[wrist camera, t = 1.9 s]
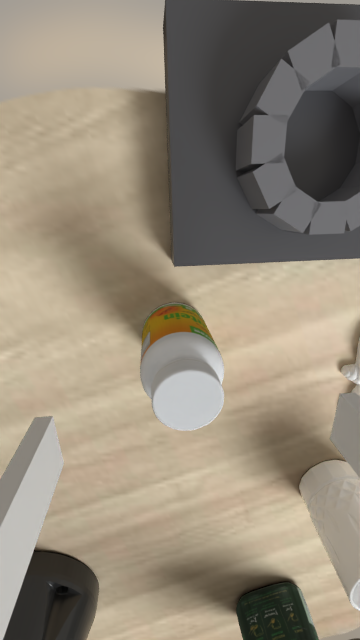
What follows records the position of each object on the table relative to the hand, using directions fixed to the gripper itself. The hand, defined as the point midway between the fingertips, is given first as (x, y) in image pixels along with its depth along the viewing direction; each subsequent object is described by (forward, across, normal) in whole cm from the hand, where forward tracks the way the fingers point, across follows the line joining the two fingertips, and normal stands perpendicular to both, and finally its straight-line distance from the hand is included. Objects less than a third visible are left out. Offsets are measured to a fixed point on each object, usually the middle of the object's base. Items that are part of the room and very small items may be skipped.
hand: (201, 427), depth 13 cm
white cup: (+12, -17, +20) cm, 29 cm away
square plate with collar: (+12, -9, -13) cm, 20 cm away
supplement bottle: (+12, 0, 0) cm, 12 cm away
